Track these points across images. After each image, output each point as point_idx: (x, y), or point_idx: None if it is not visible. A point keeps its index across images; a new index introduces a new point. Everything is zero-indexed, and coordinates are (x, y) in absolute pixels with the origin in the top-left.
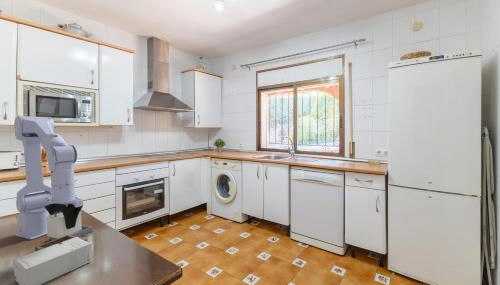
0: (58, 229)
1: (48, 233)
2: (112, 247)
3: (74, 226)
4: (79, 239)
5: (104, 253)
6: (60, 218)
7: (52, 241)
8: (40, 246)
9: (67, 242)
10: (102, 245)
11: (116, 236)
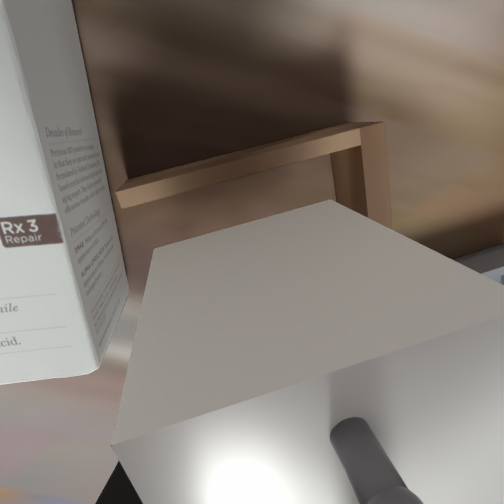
0: (146, 303)
1: (322, 213)
2: (73, 435)
3: None
4: (9, 370)
5: (20, 389)
6: (143, 479)
7: None
8: (360, 152)
9: (11, 283)
10: None
11: None
